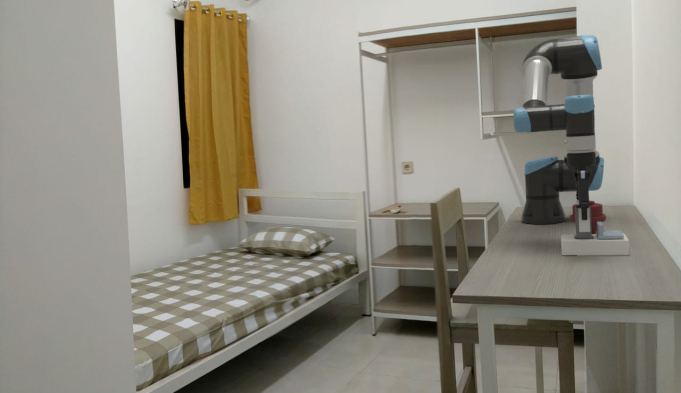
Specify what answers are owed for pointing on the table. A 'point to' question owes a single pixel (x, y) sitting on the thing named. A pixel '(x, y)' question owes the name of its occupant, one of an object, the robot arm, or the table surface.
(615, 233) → the panel
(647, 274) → the table surface
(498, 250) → the table surface
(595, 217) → the mechanical component
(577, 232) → the plug
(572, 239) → the socket
